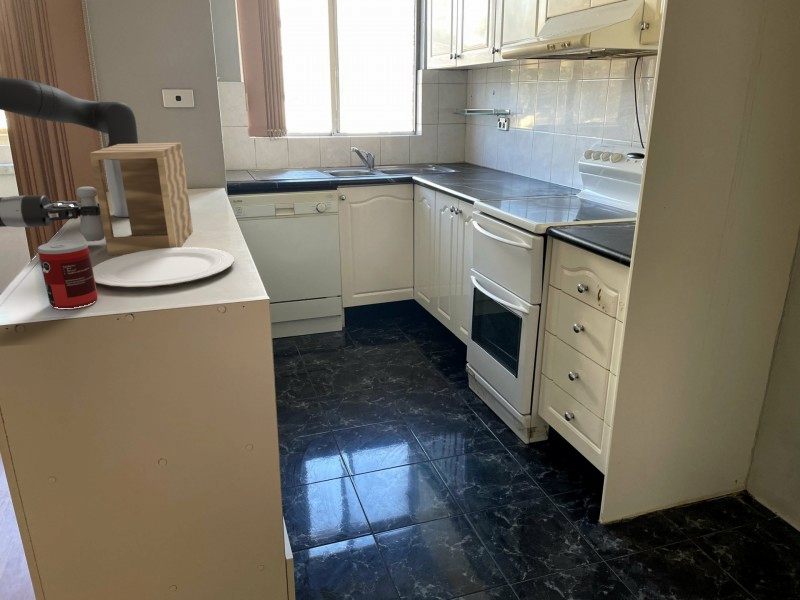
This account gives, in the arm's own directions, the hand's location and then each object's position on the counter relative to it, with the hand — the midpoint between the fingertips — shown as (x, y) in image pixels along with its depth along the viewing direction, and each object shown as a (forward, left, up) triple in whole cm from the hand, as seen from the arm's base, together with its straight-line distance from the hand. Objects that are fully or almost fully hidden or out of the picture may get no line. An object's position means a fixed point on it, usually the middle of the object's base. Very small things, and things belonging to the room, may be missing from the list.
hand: (101, 209), depth 147 cm
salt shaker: (0, -3, -8) cm, 8 cm away
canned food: (+45, +7, -9) cm, 46 cm away
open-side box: (0, +11, -9) cm, 14 cm away
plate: (+27, +19, -9) cm, 34 cm away
